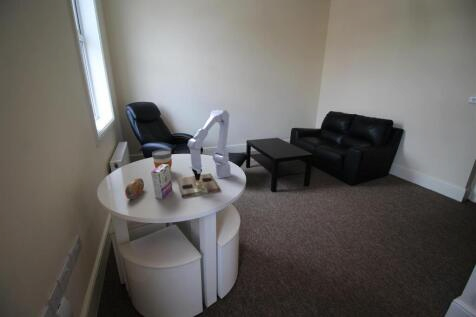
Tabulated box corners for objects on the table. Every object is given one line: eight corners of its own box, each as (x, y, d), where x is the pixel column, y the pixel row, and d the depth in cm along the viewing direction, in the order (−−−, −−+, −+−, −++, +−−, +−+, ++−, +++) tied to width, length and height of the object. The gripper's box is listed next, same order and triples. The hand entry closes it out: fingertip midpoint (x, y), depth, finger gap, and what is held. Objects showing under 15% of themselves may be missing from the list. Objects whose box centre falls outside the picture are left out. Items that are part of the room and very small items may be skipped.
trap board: (210, 176, 147) (210, 173, 147) (219, 190, 128) (219, 187, 127) (177, 181, 140) (177, 178, 139) (181, 197, 121) (181, 194, 120)
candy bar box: (165, 189, 130) (161, 163, 125) (172, 189, 129) (169, 164, 124) (154, 198, 120) (150, 171, 114) (163, 199, 119) (159, 172, 113)
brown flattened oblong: (131, 202, 117) (128, 188, 114) (125, 201, 117) (123, 187, 114) (145, 188, 131) (143, 176, 128) (140, 188, 131) (138, 175, 128)
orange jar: (176, 169, 158) (174, 150, 153) (168, 176, 147) (165, 155, 141) (160, 168, 160) (157, 149, 155) (151, 175, 149) (148, 154, 144)
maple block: (203, 187, 128) (202, 181, 127) (204, 190, 124) (204, 184, 123) (196, 188, 127) (195, 182, 125) (197, 191, 123) (197, 185, 122)
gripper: (187, 155, 132) (189, 176, 137) (191, 164, 119) (193, 186, 124) (198, 154, 134) (200, 174, 139) (203, 162, 122) (205, 184, 126)
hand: (197, 179), depth 132 cm, fingers closed
